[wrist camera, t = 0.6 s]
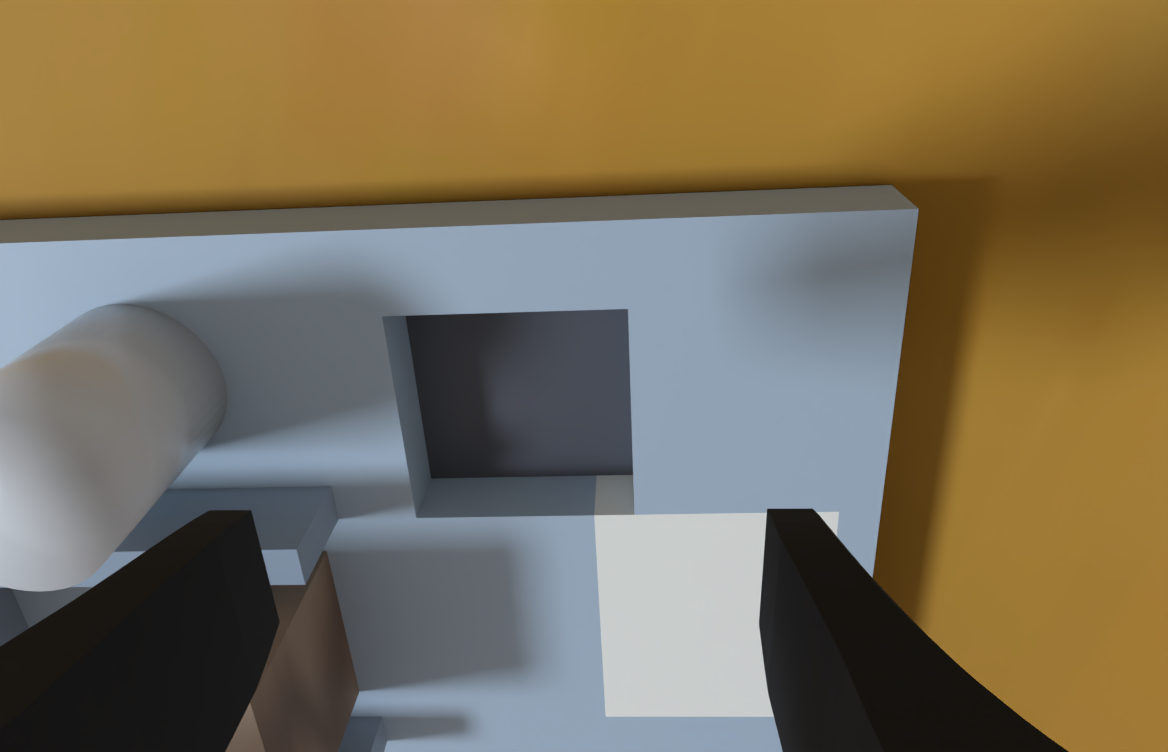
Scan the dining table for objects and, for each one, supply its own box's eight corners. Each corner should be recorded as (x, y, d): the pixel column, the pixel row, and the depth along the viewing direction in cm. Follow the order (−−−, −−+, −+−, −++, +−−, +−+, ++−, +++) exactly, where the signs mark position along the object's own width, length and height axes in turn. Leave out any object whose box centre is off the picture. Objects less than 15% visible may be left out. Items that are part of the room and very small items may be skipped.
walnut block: (359, 691, 24) (298, 858, 20) (190, 691, 25) (92, 856, 20) (326, 550, 22) (250, 703, 18) (141, 553, 22) (19, 703, 18)
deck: (832, 722, 27) (868, 858, 23) (99, 721, 28) (11, 849, 24) (892, 184, 19) (961, 246, 15) (-114, 224, 21) (-292, 290, 17)
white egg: (244, 453, 21) (139, 591, 16) (87, 456, 21) (-58, 592, 17) (203, 301, 19) (73, 408, 15) (32, 306, 19) (-147, 413, 15)
